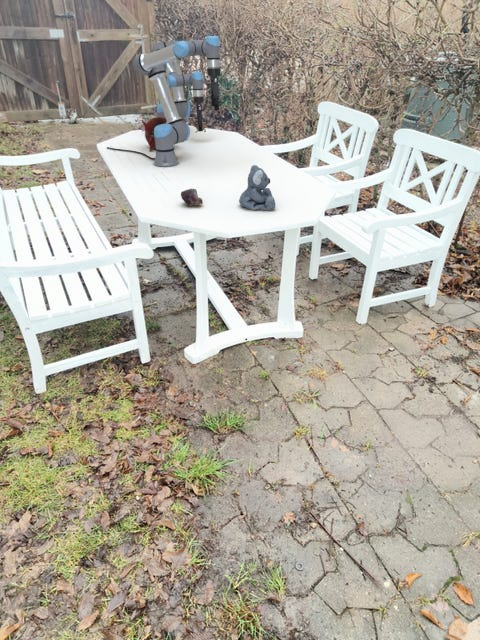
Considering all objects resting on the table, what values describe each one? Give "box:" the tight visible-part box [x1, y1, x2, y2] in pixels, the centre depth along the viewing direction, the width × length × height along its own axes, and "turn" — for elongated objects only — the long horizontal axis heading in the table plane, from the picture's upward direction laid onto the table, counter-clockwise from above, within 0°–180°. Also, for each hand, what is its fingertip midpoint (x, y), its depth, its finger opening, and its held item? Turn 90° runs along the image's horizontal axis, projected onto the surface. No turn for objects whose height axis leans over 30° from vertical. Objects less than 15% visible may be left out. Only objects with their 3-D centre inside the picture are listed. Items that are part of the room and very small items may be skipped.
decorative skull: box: [141, 116, 167, 152], centre depth 324 cm, size 21×24×25 cm
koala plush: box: [238, 164, 276, 211], centre depth 224 cm, size 17×18×20 cm
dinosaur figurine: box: [189, 118, 210, 134], centre depth 334 cm, size 14×6×9 cm, turn 100°
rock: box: [180, 188, 204, 207], centre depth 229 cm, size 12×9×10 cm
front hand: (215, 108), depth 269 cm, fingers open, 13 cm apart
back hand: (200, 130), depth 336 cm, fingers closed on dinosaur figurine, 5 cm apart
